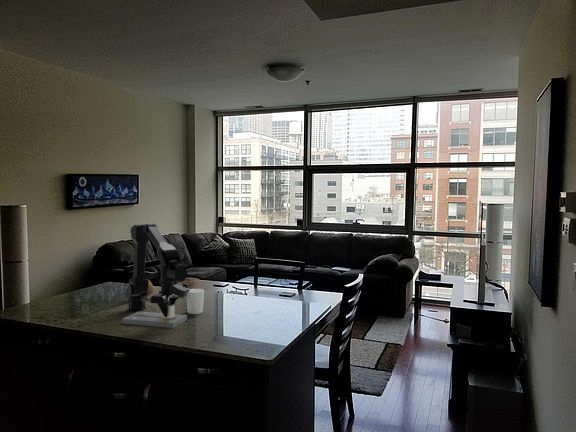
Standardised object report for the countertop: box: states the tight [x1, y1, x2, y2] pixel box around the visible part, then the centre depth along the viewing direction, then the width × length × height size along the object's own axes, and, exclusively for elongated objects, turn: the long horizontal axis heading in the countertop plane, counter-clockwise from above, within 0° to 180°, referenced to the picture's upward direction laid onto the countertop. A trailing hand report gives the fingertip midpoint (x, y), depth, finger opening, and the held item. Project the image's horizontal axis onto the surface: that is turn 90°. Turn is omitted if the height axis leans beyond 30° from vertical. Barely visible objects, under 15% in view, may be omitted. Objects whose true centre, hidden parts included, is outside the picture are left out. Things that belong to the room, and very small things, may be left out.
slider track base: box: [121, 310, 188, 329], centre depth 182 cm, size 23×12×2 cm, turn 76°
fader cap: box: [161, 304, 176, 319], centre depth 180 cm, size 4×4×5 cm
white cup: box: [186, 288, 205, 315], centre depth 197 cm, size 8×8×10 cm
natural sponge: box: [144, 279, 155, 300], centre depth 222 cm, size 9×9×10 cm
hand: (168, 315), depth 180 cm, fingers closed on fader cap, 3 cm apart
